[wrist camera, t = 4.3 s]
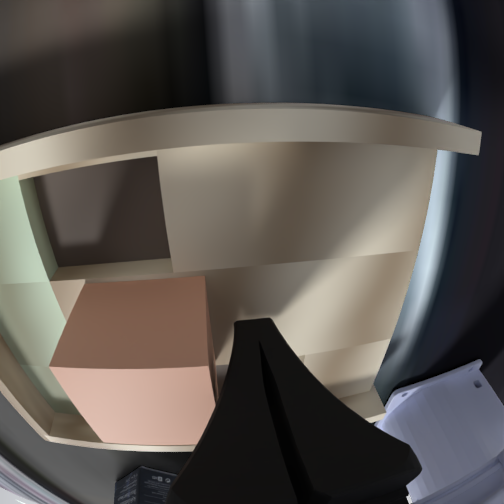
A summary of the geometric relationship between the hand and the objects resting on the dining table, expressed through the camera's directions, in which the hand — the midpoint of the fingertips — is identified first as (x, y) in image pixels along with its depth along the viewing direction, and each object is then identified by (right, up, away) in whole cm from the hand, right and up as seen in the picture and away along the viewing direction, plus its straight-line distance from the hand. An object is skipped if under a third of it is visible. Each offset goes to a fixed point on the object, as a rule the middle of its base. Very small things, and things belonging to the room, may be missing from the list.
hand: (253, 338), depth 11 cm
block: (-4, 0, 0) cm, 4 cm away
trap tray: (-3, +1, +2) cm, 3 cm away
